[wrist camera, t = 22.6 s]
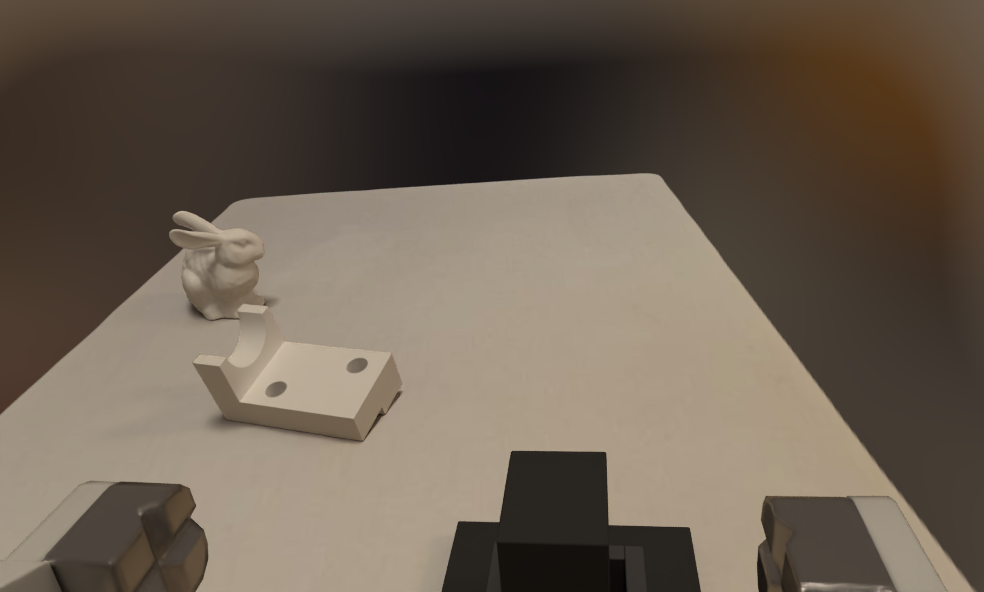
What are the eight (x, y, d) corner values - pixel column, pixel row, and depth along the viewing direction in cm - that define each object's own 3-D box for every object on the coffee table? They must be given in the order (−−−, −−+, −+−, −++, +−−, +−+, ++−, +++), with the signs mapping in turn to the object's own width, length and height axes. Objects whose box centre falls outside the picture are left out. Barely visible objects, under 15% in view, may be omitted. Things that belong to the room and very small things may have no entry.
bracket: (230, 426, 60) (192, 362, 55) (274, 367, 65) (242, 303, 60) (366, 448, 56) (337, 381, 51) (402, 383, 61) (378, 316, 56)
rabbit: (286, 306, 80) (263, 202, 75) (209, 340, 73) (178, 229, 68) (229, 283, 87) (204, 188, 82) (154, 312, 81) (123, 211, 76)
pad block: (608, 606, 38) (606, 451, 33) (612, 714, 32) (609, 545, 28) (523, 602, 38) (511, 450, 34) (512, 707, 33) (495, 541, 29)
